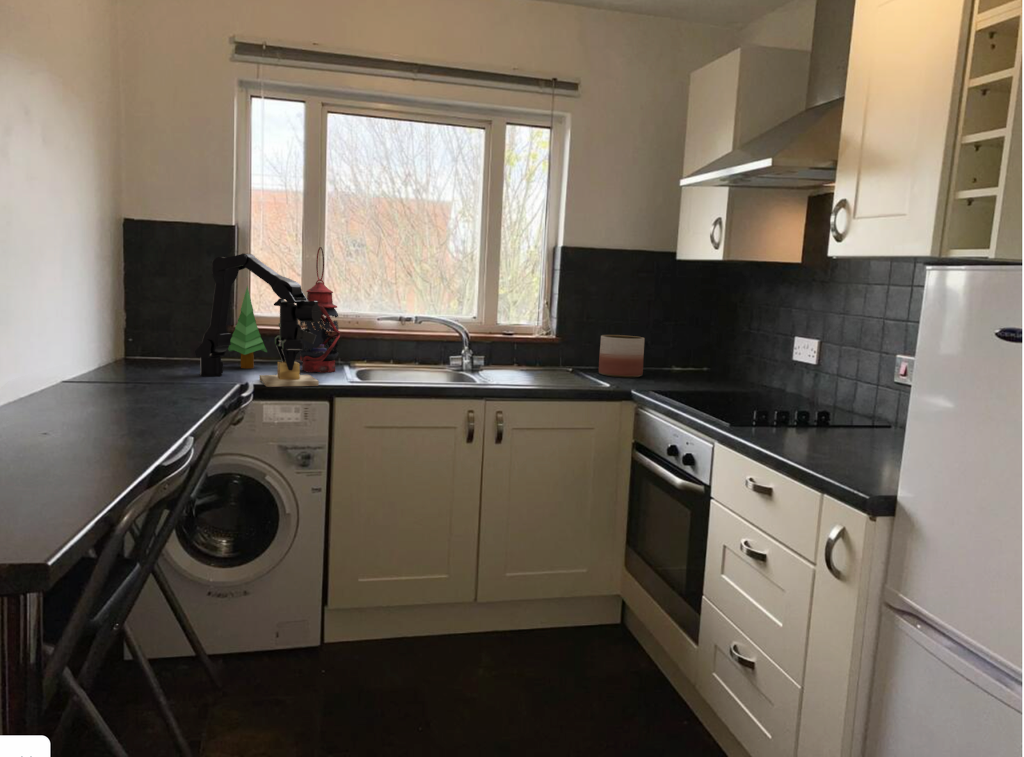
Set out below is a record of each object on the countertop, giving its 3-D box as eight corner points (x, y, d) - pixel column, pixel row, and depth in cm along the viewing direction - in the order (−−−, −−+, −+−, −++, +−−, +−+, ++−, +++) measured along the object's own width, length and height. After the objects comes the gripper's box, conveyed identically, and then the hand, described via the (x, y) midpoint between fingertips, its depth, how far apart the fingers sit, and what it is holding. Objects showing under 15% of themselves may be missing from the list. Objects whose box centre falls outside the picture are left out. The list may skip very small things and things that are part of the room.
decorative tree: (218, 366, 282) (218, 284, 278) (259, 364, 292) (259, 285, 289) (234, 370, 272) (234, 285, 268) (275, 368, 283) (276, 286, 279)
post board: (266, 386, 239) (266, 369, 238) (259, 379, 253) (259, 363, 252) (318, 385, 245) (318, 368, 245) (308, 379, 260) (309, 362, 259)
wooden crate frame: (280, 379, 245) (280, 363, 244) (277, 376, 250) (277, 361, 250) (299, 379, 248) (299, 363, 247) (296, 376, 253) (296, 361, 252)
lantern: (295, 368, 287) (296, 246, 281) (334, 368, 293) (336, 248, 287) (302, 373, 273) (304, 245, 267) (343, 373, 279) (346, 247, 273)
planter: (642, 374, 319) (645, 336, 317) (642, 379, 301) (644, 339, 299) (599, 371, 322) (601, 334, 320) (596, 376, 304) (599, 336, 302)
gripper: (320, 323, 242) (319, 372, 244) (308, 319, 258) (308, 365, 260) (283, 322, 237) (283, 372, 239) (274, 318, 254) (274, 365, 256)
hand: (288, 368), depth 249 cm, fingers open, 7 cm apart
